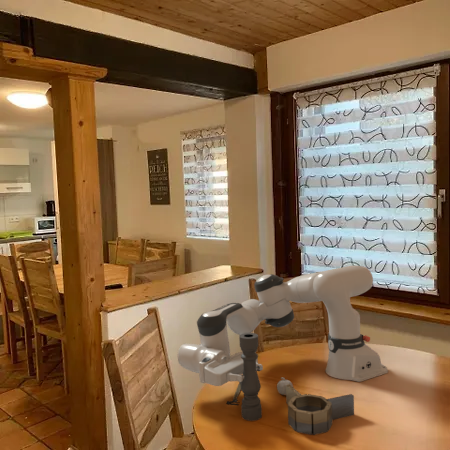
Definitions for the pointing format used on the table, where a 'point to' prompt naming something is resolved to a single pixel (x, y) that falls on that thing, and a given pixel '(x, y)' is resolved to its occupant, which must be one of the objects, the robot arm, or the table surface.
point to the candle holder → (250, 378)
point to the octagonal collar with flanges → (316, 411)
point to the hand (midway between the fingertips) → (252, 373)
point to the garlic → (283, 386)
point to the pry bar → (235, 396)
